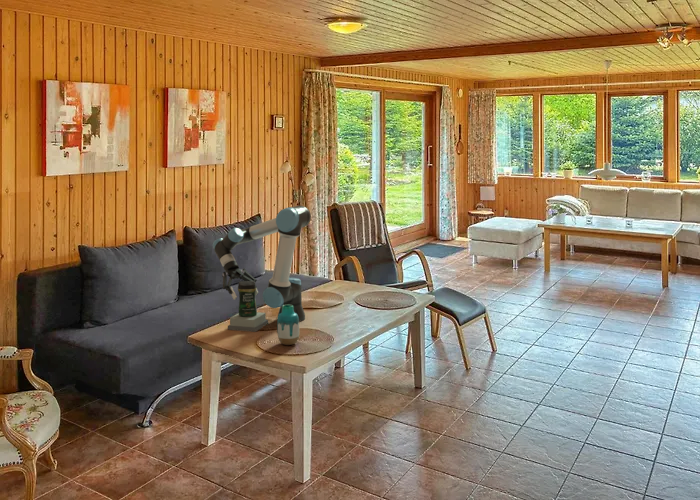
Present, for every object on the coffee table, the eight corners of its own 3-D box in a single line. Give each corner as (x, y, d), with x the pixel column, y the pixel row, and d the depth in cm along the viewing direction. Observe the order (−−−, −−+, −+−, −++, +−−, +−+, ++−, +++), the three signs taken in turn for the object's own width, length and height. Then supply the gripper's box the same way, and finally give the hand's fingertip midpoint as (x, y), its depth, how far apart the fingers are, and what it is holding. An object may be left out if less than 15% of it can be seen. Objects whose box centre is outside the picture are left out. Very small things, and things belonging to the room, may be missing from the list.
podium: (268, 323, 346) (267, 312, 345) (255, 331, 331) (255, 320, 330) (241, 321, 351) (240, 310, 350) (227, 329, 336) (227, 318, 335)
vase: (300, 340, 317) (299, 302, 313) (299, 347, 306) (298, 308, 303) (278, 340, 316) (277, 303, 313) (276, 347, 306) (275, 308, 303)
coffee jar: (238, 317, 336) (237, 283, 332) (238, 313, 343) (237, 279, 340) (257, 316, 337) (256, 282, 334) (257, 312, 345) (255, 279, 342)
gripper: (246, 265, 357) (262, 295, 349) (206, 271, 340) (223, 304, 332) (251, 256, 353) (268, 288, 344) (211, 263, 336) (228, 296, 328)
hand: (246, 296), depth 338 cm, fingers open, 13 cm apart
